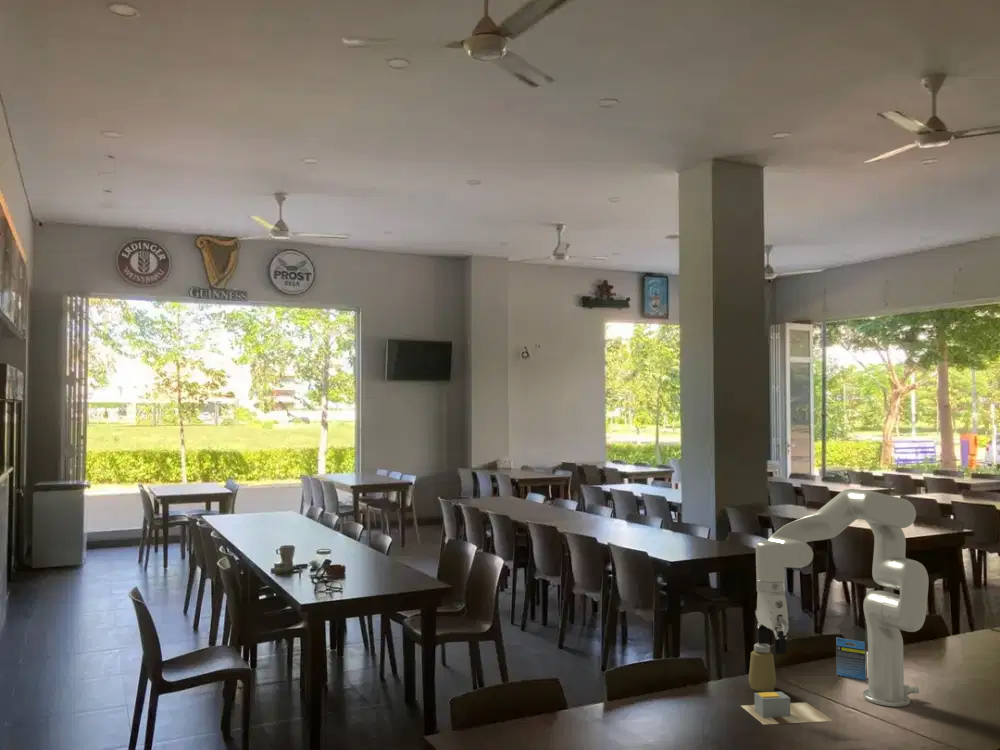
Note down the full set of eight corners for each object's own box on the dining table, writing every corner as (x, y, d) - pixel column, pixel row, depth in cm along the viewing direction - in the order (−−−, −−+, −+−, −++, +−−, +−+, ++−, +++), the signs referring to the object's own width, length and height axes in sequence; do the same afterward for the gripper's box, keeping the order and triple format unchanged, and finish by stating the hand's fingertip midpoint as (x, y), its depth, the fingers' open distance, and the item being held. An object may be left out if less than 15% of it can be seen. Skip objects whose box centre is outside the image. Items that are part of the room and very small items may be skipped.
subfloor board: (806, 707, 232) (806, 702, 232) (833, 726, 218) (833, 720, 218) (740, 711, 229) (740, 705, 229) (763, 730, 215) (763, 724, 215)
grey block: (781, 709, 226) (781, 690, 226) (790, 716, 221) (790, 696, 222) (754, 711, 225) (754, 691, 225) (762, 717, 220) (762, 698, 220)
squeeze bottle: (778, 698, 239) (777, 637, 240) (750, 696, 241) (749, 635, 242) (774, 689, 247) (773, 630, 248) (747, 688, 249) (746, 628, 250)
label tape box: (867, 677, 259) (867, 638, 260) (865, 681, 256) (865, 641, 256) (838, 672, 264) (837, 634, 264) (836, 676, 260) (835, 637, 261)
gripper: (798, 592, 217) (800, 657, 216) (768, 579, 234) (770, 639, 233) (772, 593, 216) (774, 658, 215) (744, 580, 233) (745, 640, 232)
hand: (772, 648), depth 224 cm, fingers open, 9 cm apart
